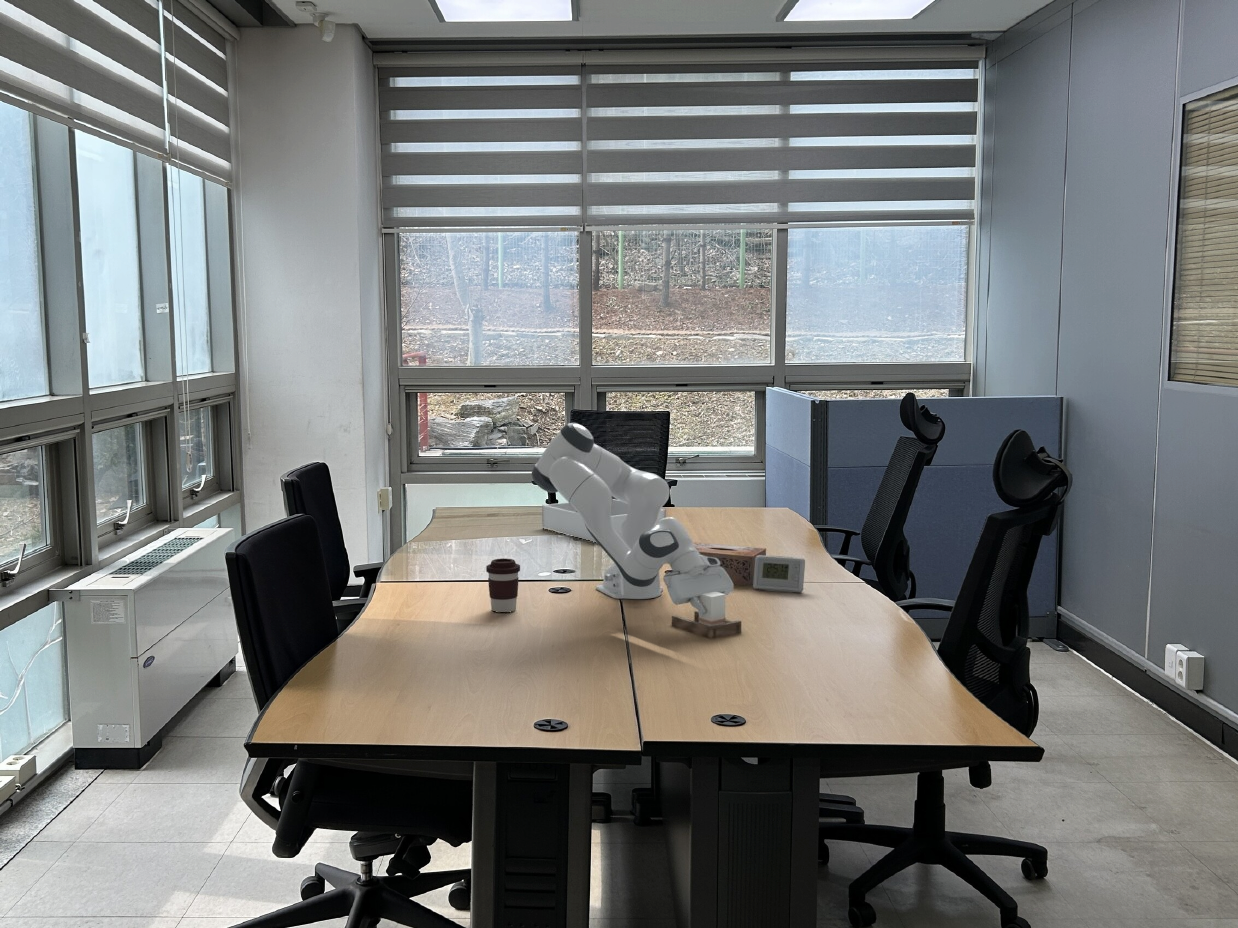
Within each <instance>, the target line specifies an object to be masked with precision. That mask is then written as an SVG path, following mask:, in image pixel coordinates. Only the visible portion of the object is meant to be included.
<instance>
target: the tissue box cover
mask: <svg viewBox="0 0 1238 928" xmlns="http://www.w3.org/2000/svg"><path fill="white" fill-rule="evenodd" d="M693 546H694V547H695V549H696V550H698V552H699V553H700V555H703V556H707V557H712V558H717V559H718V560H719V561H720V565H719V566H720V567H722V568H723V569H724V570H725V571H726V572H727V574H728V575H729V577H730V579H731V580H732V582H733V585H740V586H751V587H753V581H754V569H755V559H756V556H758V555H763V556H767V548H763V547H754V546H741V545H729V544H720V543H719V544H718V543H706V542H697V541H693Z"/></svg>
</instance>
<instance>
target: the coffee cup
mask: <svg viewBox="0 0 1238 928" xmlns="http://www.w3.org/2000/svg"><path fill="white" fill-rule="evenodd" d="M485 568H486V569H485V570H486V573H488V578H487V580H488V583H487V584H488V592H489V599H490V609H491V611H492V610H493V611H497V612H510V611H513V612H515V611H516V610H517V601H518V595H519V572H521V565H520V564H519V563H516V561H515V559H512V558H507V557H506V558H505V557H504V558H503V557H502V558H495V559H492V560H491V562H490V564H487V565H486V567H485ZM514 610H515V611H514ZM493 611H492V612H493ZM510 613H511V612H510Z"/></svg>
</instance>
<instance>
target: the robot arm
mask: <svg viewBox="0 0 1238 928" xmlns="http://www.w3.org/2000/svg"><path fill="white" fill-rule="evenodd" d="M531 470H532V471H531V477H532V481H533V482H534V484H535V485H536V486H537V487H538V488H540V489H542V491H545V492H547V493H552V494H553V493H559V494H560V495H561V497H562V498H564V499H565V500H566V502H569V503H570V504H571V505H572V506H573V507H574V508H575V509H576V511H577V512H578V513H579V515H580V516H581V518H582V519H583V521H584V523H585V526H586V528H587V530H588V531H589V533H590V534H591V536H592V537H593V538H594V539H595V540H596V542H597V543H596V544H598V545H599V546H600V547H601V549H602V550H603V551H604V552H605V553H606V554H607V556H608V557H609V558H610V559H611V560H612V561H613V564H612V565H610V566H609V567H608V568H607V569H605V571H604V573H603V583H600V584H597V585H596V586H595V589H596V590H597V591H600V592H601V593H603V594H604V595H607V596H609V597H611V598H613V599H630V600H645V599H646V600H647V599H653V598H657V597H660V596H661V595H662V592H663V591H664V590H663V586H661V577H660V570H661V569H662V567H663V566H664V565H666V564H668V565H669V566H670V568H671V570H672V572H666V573H665V574H664V575H663V579H662V580H663V582H664V585H666V589H667V592H668V595H669V597H670V600H671V602H672V603H673V604H674V605H677V606H679V605H684V604H688V603H689V604H690V605H691V606H692V607H693V608H695V610H696V611H699V613H700V614H706V612H707V611H708V610H707V608H706V606H705V605H704V606H703V605H702V604H701V603H699V596H701V594H705V593H710V592H719V593H722V594H725V596H729V595H730V594H731V593H732V591H733V590H734V585H735V584H733V582H732V580H731V579H730V577H729V575H728V574H727V572H726V571H725V570H724V569H723V568H722V567H720V566H719V565H720V561H719V560H718V559H717V558H712V557H707V556H703V555H700V553H699V552H698V550H696V549H695V547H694V546H693V543H694V541H693V540H692V538H691V535H690V534H689V532H688V531H687V529H686V528H685V526H684V525H683V524H682V523H681V522H680V521H679V519H677V518H675V517H671V516H669V517H666V518H663V519H661V520H659V521H658V517H659V514H660V511H661V509H663V508H662V507H663V506H665V504H666V503H667V502H668V500H669V497H670V487H669V484H668V482H667V481H666V480H665V479H663V478H662V477H661V476H659V475H657V474H656V473H652V472H647V471H643V470H641V469H640V470H639V469H636V468H634V467H632V466H630V465H629V464H628V463H626V462H624V461H623V460H622V459H621V457H619V456H618V455H616V454H614V453H612V452H610V451H608V450H607V449H605V448H604V447H601V446H600V445H597V444H596V443H595V439H594V435H593V434H592V432H590V430H589V429H587V428H586V427H585V426H583V425H582V424H579V423H577V422H569V423H567V424H565V425H563V427H562V428H561V429H560V431H559V432H558V433H557V434H556V436H554V438H553V439H551V441H550V442H549V443H548V445H547V446H546V448H545V450H544V451H543V453H542V454H541V456H540V457H539V459H538V461H537V462H536V463H535V464H534V466H533V469H531ZM612 496H613V497H614V498H613V499H616V500H619V501H621V502H623V503H626V504H629V509H628V514H627V517H626V519H625V521H624V522H623V523H622V525H621V537H620V536H619V535H618V534H617V533H616V531H615V530H614V528H613V526H612V522H611V504H612Z"/></svg>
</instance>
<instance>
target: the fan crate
mask: <svg viewBox="0 0 1238 928" xmlns="http://www.w3.org/2000/svg"><path fill="white" fill-rule="evenodd" d="M541 507H542V508H541V509H542V517H541V518H542V520H541V521H542V522H541V523H542V526H543V527H546V528H550V529H554V530H556V531H559V532H563V533H566V534H569V535H573V536H575V537H579V538H583V539H586V540H590V541H594V542H596V540H595V539H594V538H593V537H592V536H591V534H590V533H589V531H588V530H587V528H586V526H585V523H584V521H583V519H582V518H581V516H580V515H579V513H577V512H576V509H575V508H574V507H573V506H572V505H571V504H570V503H569V502H568V501H566V502H558V503H551V504H542V506H541ZM628 509H629V504H626V503H623V502H621V501H619V500H618V499H616V498H613V499H612V504H611V522H612V526H613V528H614V530H615V531H616V533H617V534H618V535H619V536H620V537H621V525H622V523H623V522H624V521H625V519H626V517H627V514H628ZM663 518H667V510H666V509H665V508H661V511H660V514H659V517H658V521H659V520H661V519H663ZM575 537H574V538H575ZM579 538H578V539H579ZM583 539H582V540H583ZM586 540H585V541H586ZM590 541H589V542H590ZM594 542H593V543H594ZM595 544H598V543H597V542H596V543H595Z"/></svg>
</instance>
